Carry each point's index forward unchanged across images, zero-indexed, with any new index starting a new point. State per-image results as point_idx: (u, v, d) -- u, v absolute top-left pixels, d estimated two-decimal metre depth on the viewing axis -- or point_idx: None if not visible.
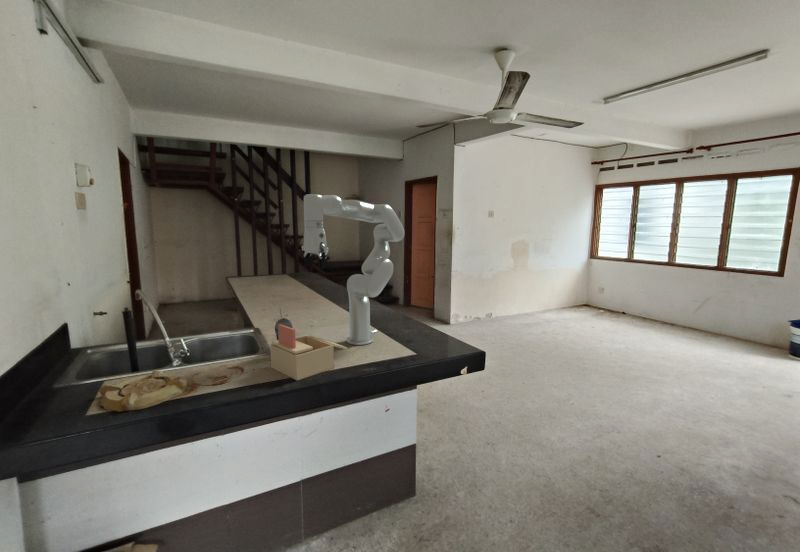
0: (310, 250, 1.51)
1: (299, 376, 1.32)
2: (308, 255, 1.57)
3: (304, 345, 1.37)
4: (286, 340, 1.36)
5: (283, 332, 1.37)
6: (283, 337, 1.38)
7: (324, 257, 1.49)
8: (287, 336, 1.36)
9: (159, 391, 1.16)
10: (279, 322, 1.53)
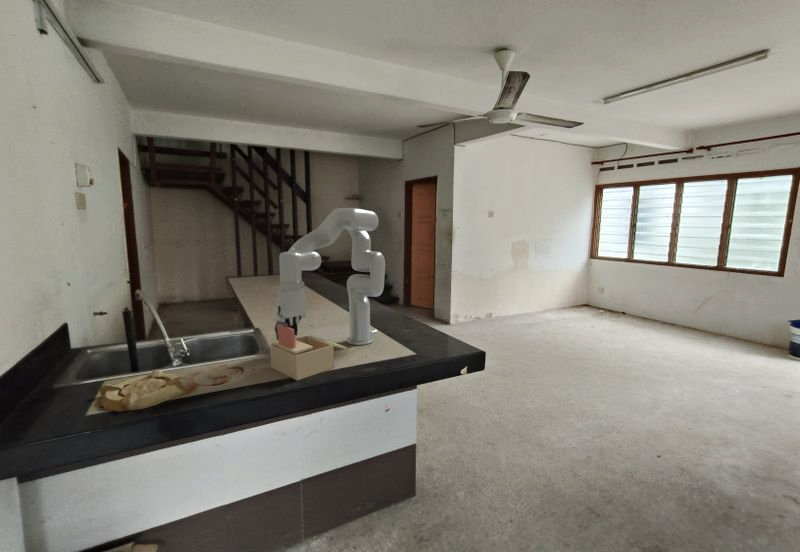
0: (295, 313, 1.36)
1: (299, 376, 1.32)
2: None
3: (304, 344, 1.37)
4: (286, 340, 1.36)
5: (282, 332, 1.37)
6: (283, 337, 1.37)
7: None
8: (286, 336, 1.36)
9: (159, 391, 1.16)
10: (279, 322, 1.53)
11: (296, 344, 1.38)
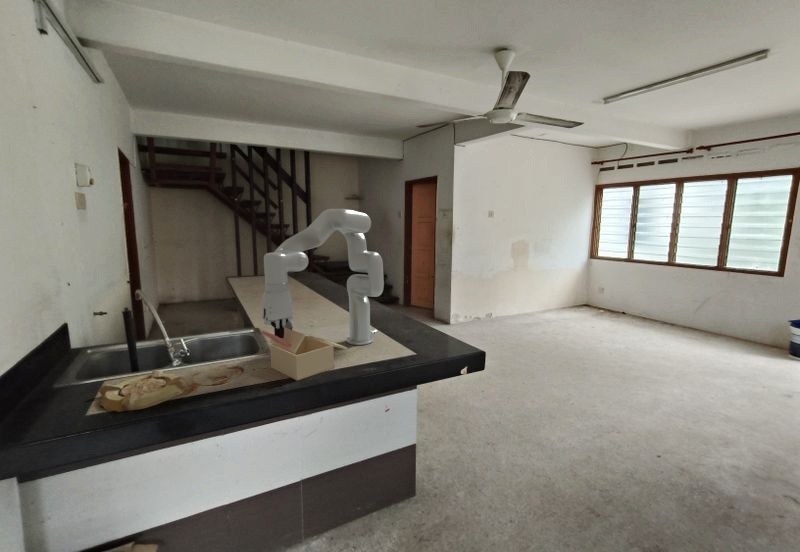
0: (282, 316, 1.32)
1: (299, 376, 1.32)
2: None
3: (296, 335, 1.35)
4: (279, 342, 1.34)
5: (271, 337, 1.34)
6: (274, 340, 1.35)
7: None
8: (276, 340, 1.33)
9: (159, 391, 1.16)
10: None
11: (290, 337, 1.36)
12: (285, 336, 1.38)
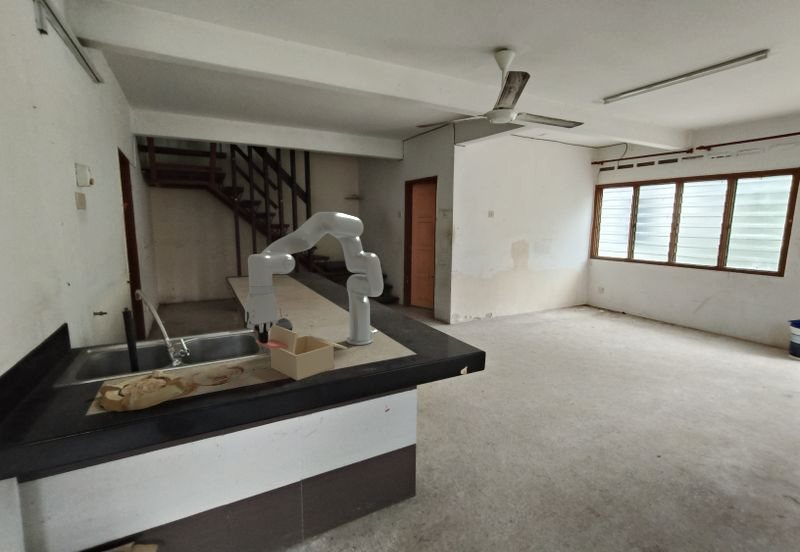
0: (266, 319, 1.28)
1: (299, 376, 1.32)
2: None
3: (289, 334, 1.32)
4: None
5: None
6: None
7: None
8: None
9: (159, 391, 1.16)
10: (279, 322, 1.53)
11: (284, 337, 1.34)
12: (280, 336, 1.36)
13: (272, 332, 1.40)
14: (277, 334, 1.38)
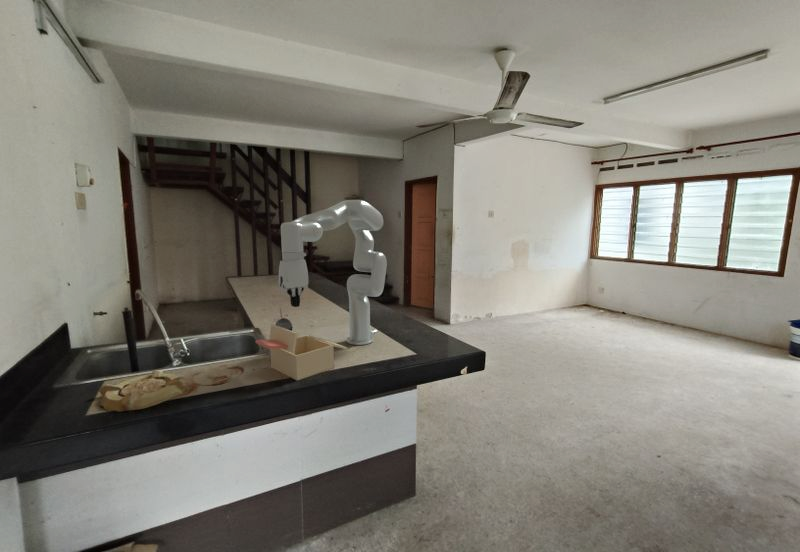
0: (298, 284, 1.36)
1: (299, 376, 1.32)
2: None
3: (289, 334, 1.32)
4: None
5: None
6: None
7: None
8: None
9: (159, 391, 1.16)
10: (279, 322, 1.53)
11: (284, 337, 1.34)
12: (279, 336, 1.36)
13: (272, 332, 1.40)
14: (277, 334, 1.37)
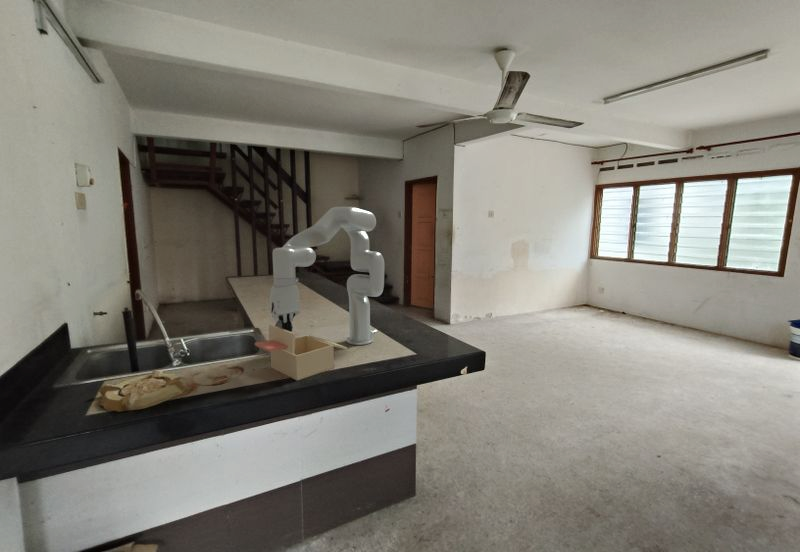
0: (289, 310, 1.34)
1: (299, 376, 1.32)
2: None
3: (287, 334, 1.32)
4: None
5: None
6: None
7: None
8: None
9: (159, 391, 1.16)
10: (279, 322, 1.53)
11: (283, 337, 1.34)
12: (278, 336, 1.36)
13: (270, 332, 1.39)
14: (275, 334, 1.37)
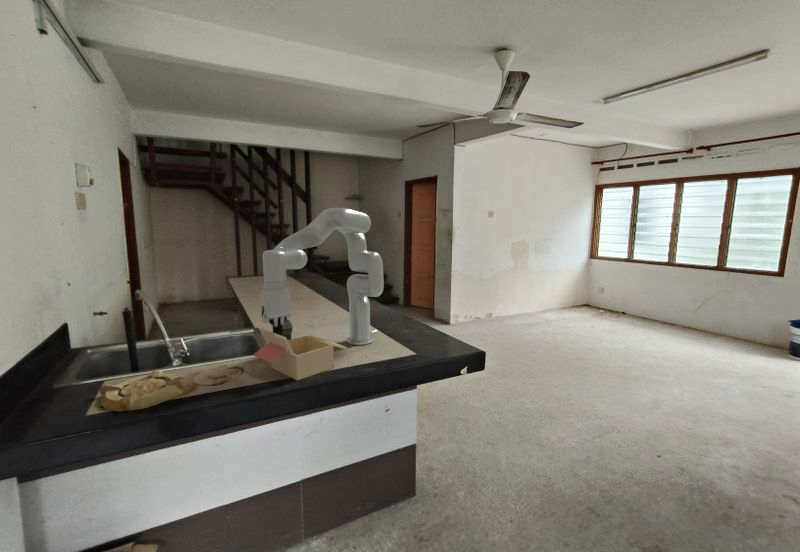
0: (280, 314, 1.32)
1: (299, 376, 1.32)
2: None
3: (279, 339, 1.30)
4: None
5: None
6: None
7: None
8: None
9: (159, 391, 1.16)
10: None
11: (277, 341, 1.32)
12: (273, 340, 1.34)
13: (265, 336, 1.38)
14: (270, 338, 1.36)
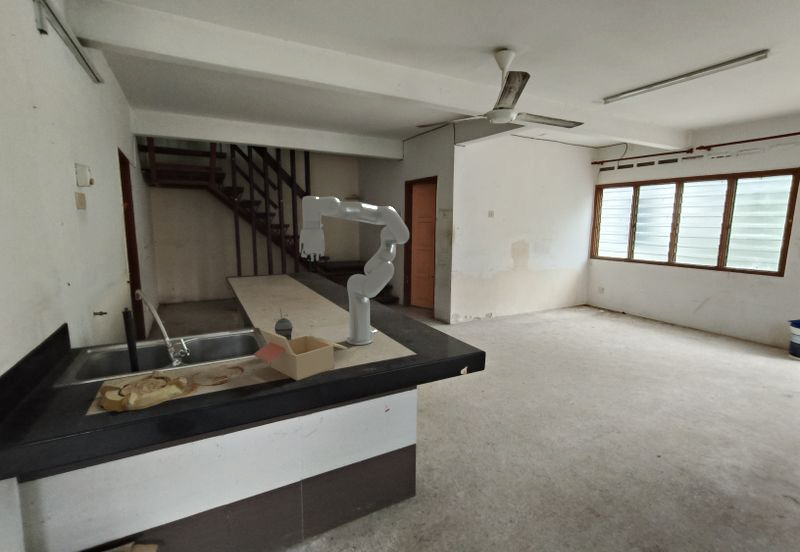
0: (316, 250, 1.56)
1: (299, 376, 1.32)
2: None
3: (279, 339, 1.30)
4: None
5: None
6: None
7: None
8: None
9: (159, 391, 1.16)
10: (279, 322, 1.53)
11: (277, 341, 1.32)
12: (273, 340, 1.34)
13: (265, 336, 1.38)
14: (270, 338, 1.36)
